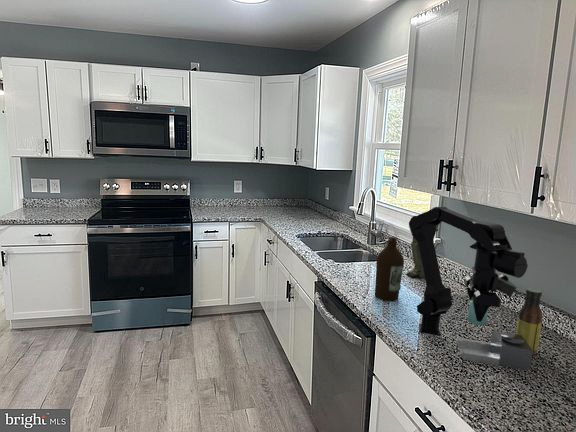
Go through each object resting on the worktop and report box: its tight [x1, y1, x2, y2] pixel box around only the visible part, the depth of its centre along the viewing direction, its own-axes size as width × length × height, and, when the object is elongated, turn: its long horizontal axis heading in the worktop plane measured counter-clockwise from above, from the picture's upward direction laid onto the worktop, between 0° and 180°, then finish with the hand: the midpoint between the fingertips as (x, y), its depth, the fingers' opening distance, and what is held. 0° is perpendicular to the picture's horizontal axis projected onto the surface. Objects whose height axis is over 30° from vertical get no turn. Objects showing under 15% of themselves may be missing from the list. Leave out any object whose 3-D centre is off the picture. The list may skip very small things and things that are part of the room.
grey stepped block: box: [456, 330, 533, 371], centre depth 118 cm, size 10×18×7 cm, turn 77°
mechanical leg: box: [405, 224, 440, 279], centre depth 193 cm, size 14×7×30 cm, turn 106°
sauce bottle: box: [515, 287, 544, 356], centre depth 121 cm, size 7×6×20 cm
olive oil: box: [374, 236, 405, 302], centre depth 161 cm, size 11×11×25 cm
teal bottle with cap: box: [467, 300, 489, 326], centre depth 117 cm, size 5×5×7 cm
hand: (477, 317), depth 118 cm, fingers closed on teal bottle with cap, 5 cm apart
